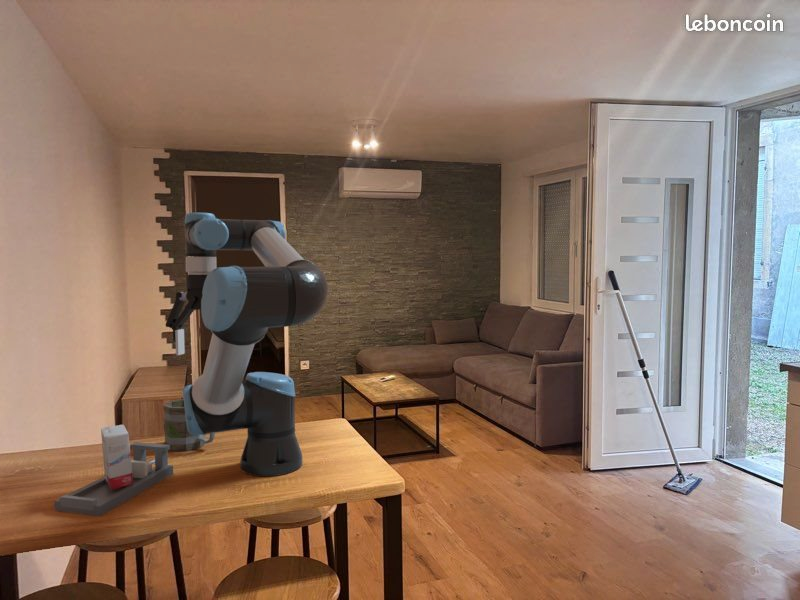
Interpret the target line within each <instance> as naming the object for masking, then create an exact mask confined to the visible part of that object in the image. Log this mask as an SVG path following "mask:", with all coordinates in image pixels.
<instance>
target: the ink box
mask: <svg viewBox="0 0 800 600" xmlns="http://www.w3.org/2000/svg"><path fill="white" fill-rule="evenodd" d="M100 432H101V444H102V445H101V446H102V458H103V471H104V476H105V479H106V481H107V483H108V485H109V488H110V489H116V488H120V487H124V486H127V485H131V484H133V475H132V466H131V460H132V459H131V449H130V437H129V432H128V431H127V429H126V427H125V425H124V424H119V425H118V424H117V425H111V426H106V427H101V428H100Z"/></svg>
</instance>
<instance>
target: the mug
mask: <svg viewBox="0 0 800 600" xmlns="http://www.w3.org/2000/svg"><path fill="white" fill-rule="evenodd" d="M162 406H163V407H162V408H163V413H164V415H163V416H164V417H163V419H164V420H163V432H164V445H170V449H169V450H167V452H171V453H172V452H173V453H186V452H190V451H195V450H199V449H201V448H203V447H204V446H205V445H206V444H211V443H212V442H213V441H214V439H215V437H216V436H215V435H216V433H210V434H209V438H206V437H205V436H206V435H191V434H190V433H189V432H188V429H187V423H186V416H185V408H184V400H183V398H181V399H175V400H170V401H168V402H166V403H164V404H162Z"/></svg>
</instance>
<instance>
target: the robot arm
mask: <svg viewBox="0 0 800 600" xmlns="http://www.w3.org/2000/svg"><path fill="white" fill-rule="evenodd" d="M183 227H184V241H185V272H186V273H188V274H187V275H185V278H186V279H185V284H186V285H185V286H186V287H185V288H186V289H187V290H186V292H185V291H177V292H175V300H174V302H173V306H172V308H171V310H170V312H169V315H168V317H167V320H166V322H165V328H169V329H171V330H172V341H173V343H175V355H176V356H181V355H184V354H185V353H186V351H185V350H186V349H185V348H186V347H185V329H184V328H183V326H184V324H186V322H187V320H188V319H189V318H190V316H191V315H192V314H193V312H194V311H198V310H200V311H201V318H202V319H201V320H202V322H203V324H204V327H205V328H206V329H208V330H210V332H211V333H212V334H211V339H210V343H209V346H208V351H207V354H206V355H207V356H206V360H205V364H204V368H203V372H202V374H200V375H199V376H198V377H197V378H196V380H195V381H194V383H193V384H189V385H185V386H183V388H182V397H183V398H182V399H183V400H184V408H185V416H186V423H187V429H188V432H189V433H190V434H191V435H205V436H206V435H210V433H215V434H217V433H222V432H231V431H237V430H244V429H246V430H247V438H246V439H245V440H246V441H245V444H244V448H243V451H242V454H241V457H240V469H241V471H242V472H243V473H245V474H247V475H252V476H260V477H269V476H270V477H271V476H279V475H280V476H281V475H284V474H285V475H286V474H289V473H292V472H294V471H296V470H298V469H300V468H301V467H302V466H303V453H302V452H303V451H302V450H301V447H300V443H299V441H298V438H297V436H296V411H295V410H296V392H295V391H296V390H295V382H294V380H293V378H292V377H291V376H288V375H286V374H282V373H276V372H268V371H267V372H266V371H254V372H249V373H247V374H246V371H247V368H248V366H249V363H250V359H251V358H252V357H251V356H252V354H253V350H254V348H255V345H256V344H257V343H259V342H260V341H262V339H264V338H265V335H266V334H267V333H268V330H269V329H270V328H285V327H295V326H296V327H297V326H301V325H303V324H305V323H307V322H308V321H311V320H312V319H314V318H315V317H316V316H317V315H318V314H319V313H320V312H321V310H322V309H323V308H324V305H325V303H326V301H327V300H328V299H327V298H328V293H329V284H328V281H327V280H328V279H327V278H326V275H325V274H324V272H323V271H322V269H321V268H320V267H319V266H318V265H317V264H315V263H314V262H313V261H311V260H309V259H304V258H303V257H302V255H301V254H299V253H298V252H297V250H296V249H295V248H294V247H293V246H292V245H291V244H290V243H289V242H288V241H287V233H286V232H287V231H286V229H285V226H284V224H283V223H282V222H281V221H278V220H277V221H276V220H271V219H267V220H264V219H263V220H261V219H259V220H257V219H228V218H217V217H216V216H215V214H214V213H210V212H199V211H198V212H188V213H187V212H186V214H185V216H184V225H183ZM217 251H252V252H254V254H255V255H256V257H258V259H259V260H260V261H261V263H262V264H263V266H238V265H230V266H223V267H220V266H219V267H217ZM186 300H187V304H186V305H185V302H186ZM184 305H185V306H184ZM183 307H184V309H183ZM182 310H183V311H182ZM245 374H246V377H245ZM244 377H245V380H244Z"/></svg>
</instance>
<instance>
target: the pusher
mask: <svg viewBox="0 0 800 600" xmlns="http://www.w3.org/2000/svg"><path fill="white" fill-rule="evenodd" d="M153 464H155V458H154V459H152V460H150V461H146V462H145V461H135V460H132V459H131V466H132V475H133V478H141V479H143V478H145V477H147V476H148V473H149V472H151V471H152V468H153Z"/></svg>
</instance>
